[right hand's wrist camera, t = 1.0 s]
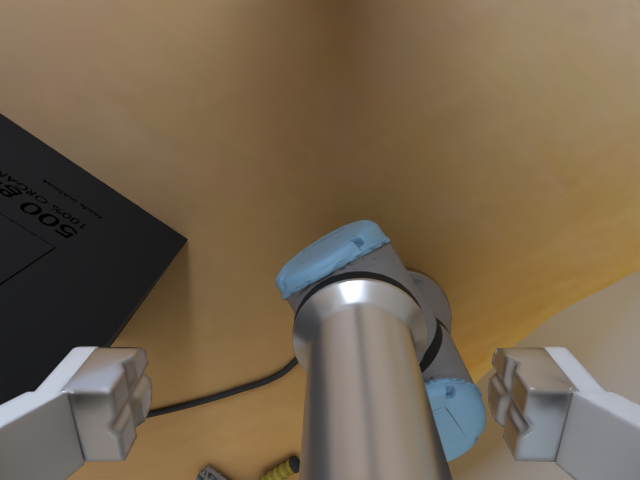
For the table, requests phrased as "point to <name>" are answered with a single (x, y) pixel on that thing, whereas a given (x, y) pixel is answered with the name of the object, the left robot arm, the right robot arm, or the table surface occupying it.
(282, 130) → the table surface
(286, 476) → the toy gun
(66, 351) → the cardboard box
